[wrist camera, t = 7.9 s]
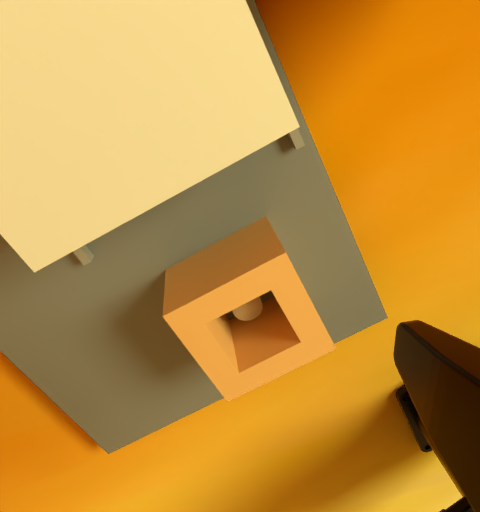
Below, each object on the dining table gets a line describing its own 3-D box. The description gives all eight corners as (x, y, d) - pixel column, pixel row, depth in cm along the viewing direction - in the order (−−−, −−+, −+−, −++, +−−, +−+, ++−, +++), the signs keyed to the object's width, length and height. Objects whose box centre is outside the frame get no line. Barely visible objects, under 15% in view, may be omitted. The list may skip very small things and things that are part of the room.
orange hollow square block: (310, 300, 22) (336, 348, 18) (219, 346, 22) (227, 402, 19) (266, 215, 19) (285, 252, 16) (165, 269, 20) (162, 316, 16)
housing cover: (267, 107, 17) (299, 126, 12) (71, 217, 18) (34, 272, 13) (180, -86, 14) (179, -155, 9) (-52, 58, 15) (-155, 60, 10)
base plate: (378, 305, 24) (405, 340, 21) (111, 437, 26) (102, 485, 23) (194, -125, 15) (198, -170, 12) (-204, 126, 16) (-286, 141, 13)
